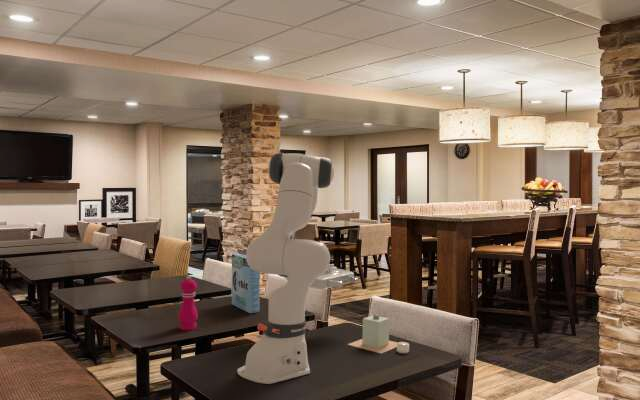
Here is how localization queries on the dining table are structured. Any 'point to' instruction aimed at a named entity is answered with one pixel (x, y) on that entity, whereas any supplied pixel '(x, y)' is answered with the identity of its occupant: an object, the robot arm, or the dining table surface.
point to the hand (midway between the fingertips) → (349, 282)
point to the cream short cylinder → (403, 347)
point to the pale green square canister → (375, 331)
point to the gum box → (245, 285)
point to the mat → (378, 350)
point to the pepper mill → (188, 305)
